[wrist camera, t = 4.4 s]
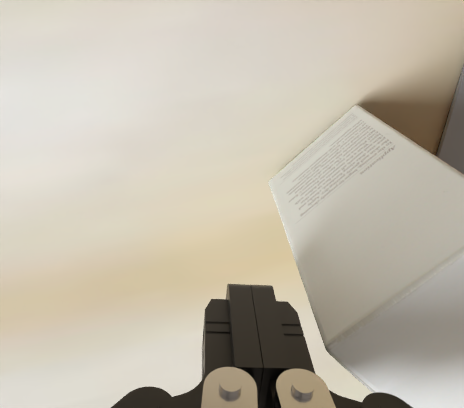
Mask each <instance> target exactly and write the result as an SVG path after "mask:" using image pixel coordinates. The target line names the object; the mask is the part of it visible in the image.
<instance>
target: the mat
mask: <svg viewBox="0 0 464 408" xmlns="http://www.w3.org/2000/svg"><path fill="white" fill-rule="evenodd" d="M436 157H438V158H439V159H441V160H442V161H444V162H445V163H447V164H449V165H450V166H451V167H453V168H454V169H456V170H458V171H459V172H461V173H462V174H464V65H463V68H462V72H461V75H460V78H459V82H458V85H457V88H456V92H455V95H454V98H453V102H452V105H451V108H450V112H449V115H448V118H447V122H446V125H445V128H444V131H443V135H442V138H441V141H440V145H439V148H438V151H437V155H436Z"/></svg>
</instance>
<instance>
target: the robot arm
mask: <svg viewBox="0 0 464 408" xmlns="http://www.w3.org/2000/svg"><path fill="white" fill-rule="evenodd" d="M111 408H413V407H411V406H410V405H409V404H407V403H406V402H405V401H403V400H402V399H400V398H398V397H396V396H394V395H391V394H388V393H383V392H376V393H372V394H369V395H368V396H366V397H365V398H364V400H363V402H358V401H355V400H351V399H348V398H345V397H342V396H339V395H337V394H335V393H333V392H331V391H330V390H328V387H327V385H326V384H325V382H324V381H323V380H322V379H321V378H320V377H319V376H318V375H316V374H315V371H314V368H313V365H312V361H311V358H310V354H309V351H308V348H307V344H306V341H305V337H304V336H303V331H302V327H301V324H300V320H299V317H298V314H297V312H296V311H295V309H294V308H293V307H292V306H291V305H290V304H289V303H288V302H279V301H276V299H275V295H274V290H273V287H272V286H266V285H240V284H228V286H227V294H226V300H224V299H211V301H210V302H209V304H208V306H207V307H206V309H205V318H204V331H203V344H202V381H201V382H200V383H199V385H198V386H197V387H195V388H194V389H193V390H191V391H189V392H187V393H184V394H181V395H178V396H174V397H171V395H170V394H169V393H167V392H166V391H164V390H162V389H160V388H156V387H142V388H138V389H135V390H133V391H131V392H130V393H128V394H127V395H126V396H124V397H123V398H122V399H121V400H120V401H118V402H117V403H116V404H115V405H114V406H112V407H111Z"/></svg>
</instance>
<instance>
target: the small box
mask: <svg viewBox="0 0 464 408" xmlns="http://www.w3.org/2000/svg"><path fill="white" fill-rule="evenodd" d="M269 186H270V189H271V191H272V194H273V197H274V200H275V203H276V206H277V208H278V211H279V214H280V217H281V220H282V223H283V226H284V229H285V232H286V235H287V238H288V241H289V244H290V247H291V250H292V253H293V256H294V258H295V261H296V264H297V267H298V270H299V273H300V276H301V279H302V282H303V284H304V287H305V290H306V293H307V296H308V299H309V302H310V305H311V308H312V311H313V314H314V317H315V320H316V322H317V325H318V328H319V331H320V334H321V337H322V340H323V343H324V345H325V348H326V350H327V352H328V353H329V354H330V355H331V356H332V357H333V358H335V359H336V360H337V361H338V362H339V363H340V364H341V365H342V366H343V367H344V368H345V369H347V370H348V371H349V372H350V373H351V374H352V375H353V376H354V377H355V378H357V379H358V380H359V381H360V382H361V383H362V384H363V385H365V386H366V387H367V388H368V389H369V390H370V391H371V392H372V393H376V392H383V393H388V394H391V395H394V396H396V397H398V398H400V399H402V400H403V401H405V402H406V403H407V404H409V405H410V406H411V407H413V408H464V174H462V173H461V172H459V171H458V170H456V169H454V168H453V167H451V166H450V165H449V164H447V163H445V162H444V161H442V160H441V159H439V158H438V157H436V156H435V155H433V154H432V153H430V152H429V151H427V150H426V149H424V148H423V147H421V146H420V145H418V144H417V143H415V142H413V141H412V140H410V139H409V138H407V137H406V136H404V135H403V134H401V133H400V132H398V131H397V130H395V129H394V128H392V127H391V126H389V125H388V124H386V123H384V122H383V121H381V120H380V119H379V118H377V117H376V116H374V115H373V114H371V113H370V112H368V111H366V110H365V109H363V108H362V107H360V106H359V105H355V106H353V107H352V108H351V109H350V110H349V111H348V112H346V113H345V114H344V115H343V116H342V117H341V118H340V119H339V120H337V121H336V122H335V123H334V124H333V125H332V126H331V127H329V128H328V129H327V130H326V131H325V132H324V133H323V134H321V135H320V136H319V137H318V138H317V139H316V140H315V141H314V142H312V143H311V144H310V145H309V146H308V147H307V148H305V149H304V150H303V151H302V152H301V153H300V154H298V155H297V156H296V157H295V158H294V159H293V160H292V161H291V162H289V163H288V164H287V165H286V166H285V167H284V168H283V169H282V170H281V171H279V172H278V173H277V174H276V175H275V176H274V177H273V178H271V179H270V180H269Z"/></svg>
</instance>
